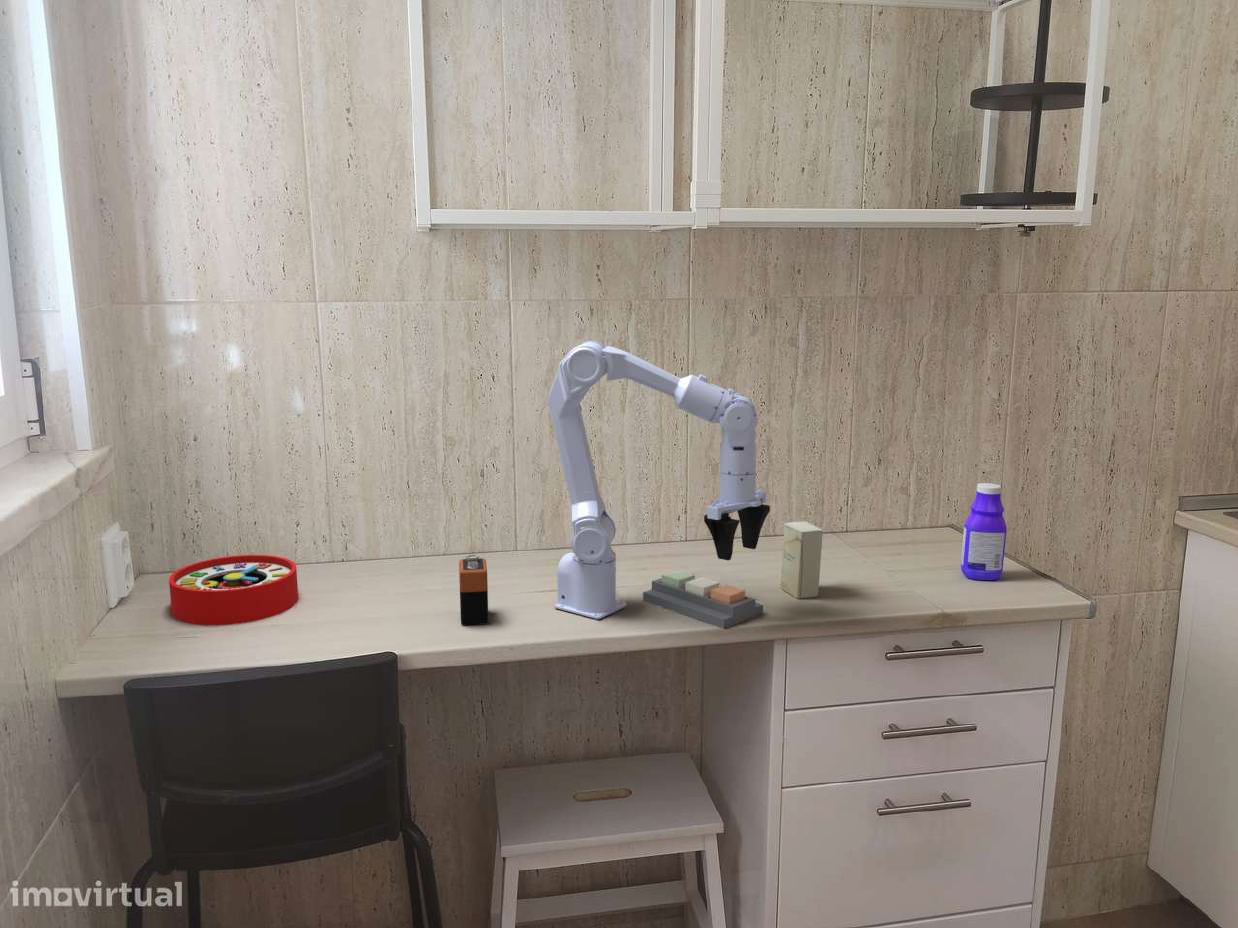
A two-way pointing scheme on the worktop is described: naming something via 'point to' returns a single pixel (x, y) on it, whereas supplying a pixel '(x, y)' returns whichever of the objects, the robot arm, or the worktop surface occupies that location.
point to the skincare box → (801, 559)
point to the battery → (473, 590)
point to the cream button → (701, 586)
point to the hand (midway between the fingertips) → (737, 553)
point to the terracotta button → (727, 594)
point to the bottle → (984, 535)
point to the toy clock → (233, 589)
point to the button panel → (701, 605)
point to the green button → (677, 578)
